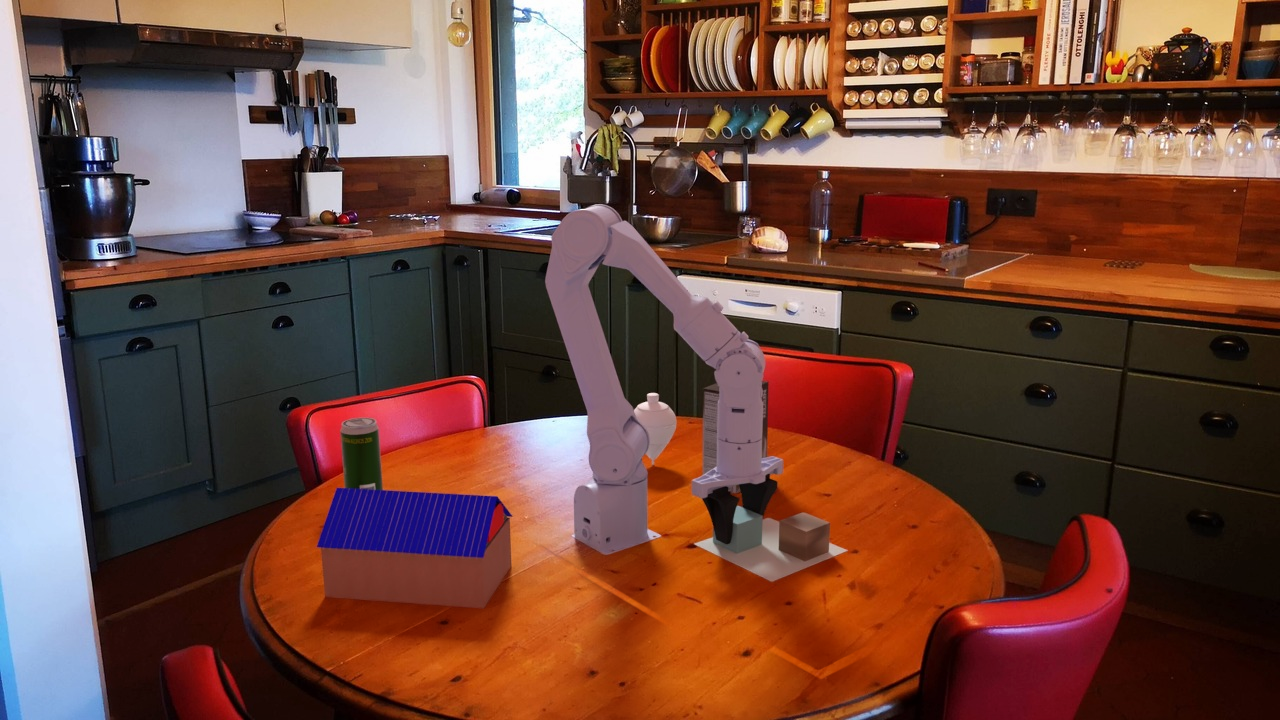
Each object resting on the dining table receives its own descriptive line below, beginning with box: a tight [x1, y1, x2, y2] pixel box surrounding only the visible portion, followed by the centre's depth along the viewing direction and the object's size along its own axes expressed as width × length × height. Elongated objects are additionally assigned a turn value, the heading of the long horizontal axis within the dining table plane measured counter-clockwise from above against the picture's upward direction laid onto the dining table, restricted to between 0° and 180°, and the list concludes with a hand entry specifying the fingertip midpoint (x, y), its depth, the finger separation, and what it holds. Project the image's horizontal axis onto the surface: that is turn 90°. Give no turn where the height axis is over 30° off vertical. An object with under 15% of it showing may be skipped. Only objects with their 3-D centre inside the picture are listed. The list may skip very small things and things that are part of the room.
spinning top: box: [634, 392, 678, 466], centre depth 157 cm, size 8×8×12 cm
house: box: [316, 487, 514, 609], centre depth 116 cm, size 12×20×12 cm, turn 81°
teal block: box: [712, 505, 764, 554], centre depth 126 cm, size 4×4×4 cm
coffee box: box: [702, 380, 770, 494], centre depth 147 cm, size 9×6×16 cm
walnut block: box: [778, 511, 831, 561], centre depth 123 cm, size 4×4×4 cm
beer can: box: [339, 417, 384, 490], centre depth 142 cm, size 5×5×12 cm
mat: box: [693, 517, 849, 583], centre depth 125 cm, size 14×14×1 cm
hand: (737, 536), depth 126 cm, fingers closed on teal block, 4 cm apart
